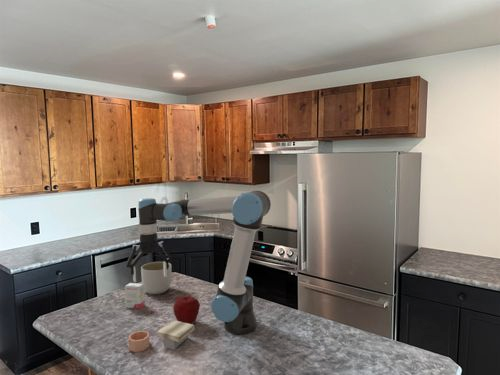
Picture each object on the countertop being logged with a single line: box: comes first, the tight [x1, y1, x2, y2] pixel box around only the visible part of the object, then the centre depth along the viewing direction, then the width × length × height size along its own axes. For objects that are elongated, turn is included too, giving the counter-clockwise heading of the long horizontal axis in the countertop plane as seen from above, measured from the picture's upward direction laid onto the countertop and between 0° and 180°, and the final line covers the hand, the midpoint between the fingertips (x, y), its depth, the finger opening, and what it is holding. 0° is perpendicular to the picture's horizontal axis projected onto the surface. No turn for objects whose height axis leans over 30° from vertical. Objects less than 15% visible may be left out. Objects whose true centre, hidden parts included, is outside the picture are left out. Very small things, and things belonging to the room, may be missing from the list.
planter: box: [140, 261, 172, 295], centre depth 197 cm, size 17×17×15 cm
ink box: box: [124, 282, 145, 310], centre depth 177 cm, size 9×5×12 cm, turn 80°
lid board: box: [156, 319, 195, 342], centre depth 142 cm, size 11×11×2 cm
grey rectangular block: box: [163, 334, 189, 350], centre depth 142 cm, size 5×10×4 cm, turn 156°
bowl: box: [128, 330, 151, 353], centre depth 139 cm, size 8×8×4 cm
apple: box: [172, 295, 201, 324], centre depth 158 cm, size 12×12×13 cm
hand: (150, 278), depth 154 cm, fingers open, 13 cm apart
